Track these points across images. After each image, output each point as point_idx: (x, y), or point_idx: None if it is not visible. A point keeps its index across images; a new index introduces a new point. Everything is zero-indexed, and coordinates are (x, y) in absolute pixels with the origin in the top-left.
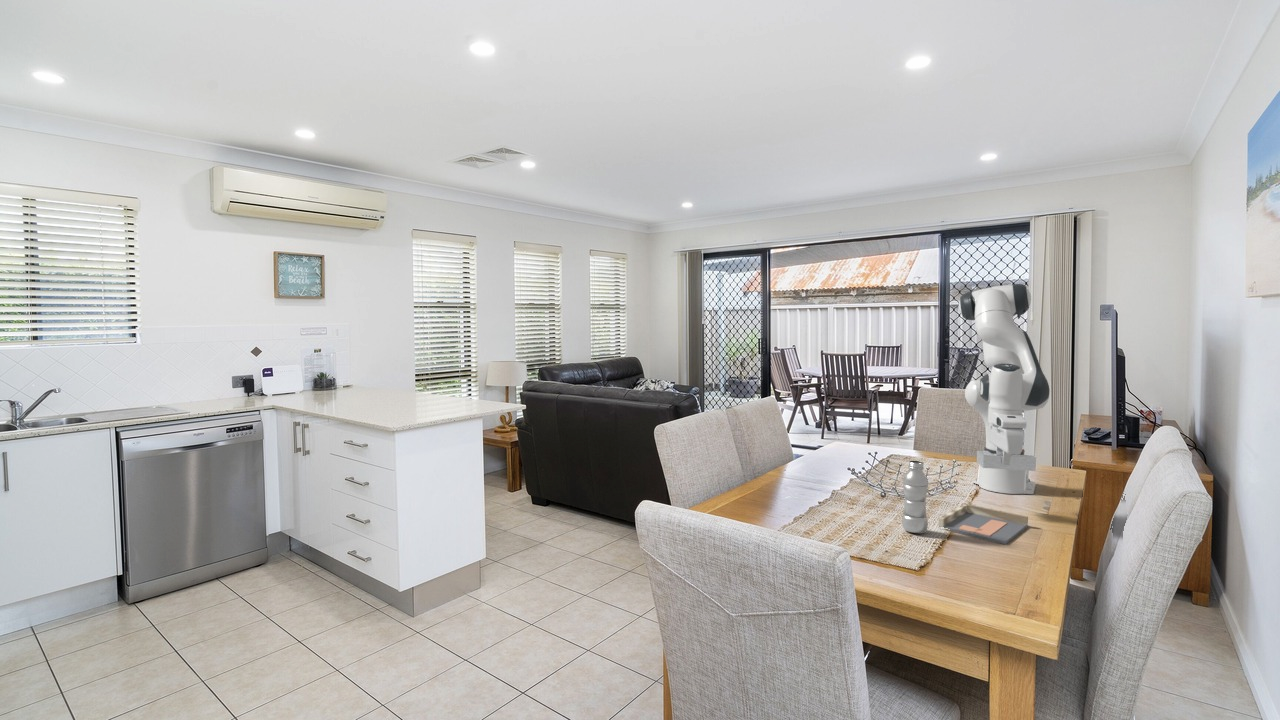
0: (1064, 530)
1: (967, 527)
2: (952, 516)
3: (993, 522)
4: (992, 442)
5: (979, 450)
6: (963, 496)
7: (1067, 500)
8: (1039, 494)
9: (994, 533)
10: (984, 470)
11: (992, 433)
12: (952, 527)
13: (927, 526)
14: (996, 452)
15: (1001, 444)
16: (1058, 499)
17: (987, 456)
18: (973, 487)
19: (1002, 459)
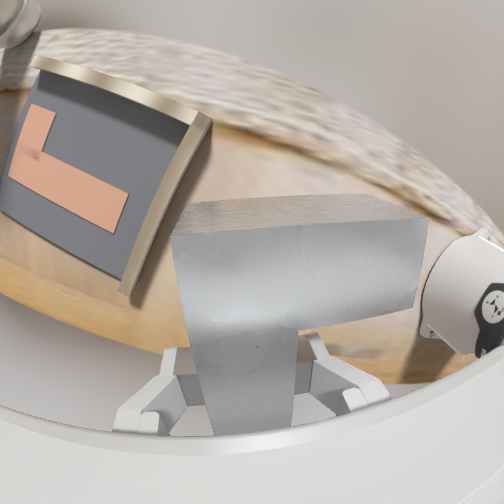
0: (151, 350)
1: (39, 124)
2: (78, 80)
3: (100, 195)
4: (431, 394)
5: (421, 238)
6: (399, 167)
7: (383, 380)
8: (419, 343)
9: (27, 188)
10: (492, 260)
11: (487, 458)
12: (38, 90)
13: (4, 47)
14: (346, 365)
15: (82, 475)
16: (389, 369)
17: (180, 272)
18: (464, 220)
19: (178, 369)
